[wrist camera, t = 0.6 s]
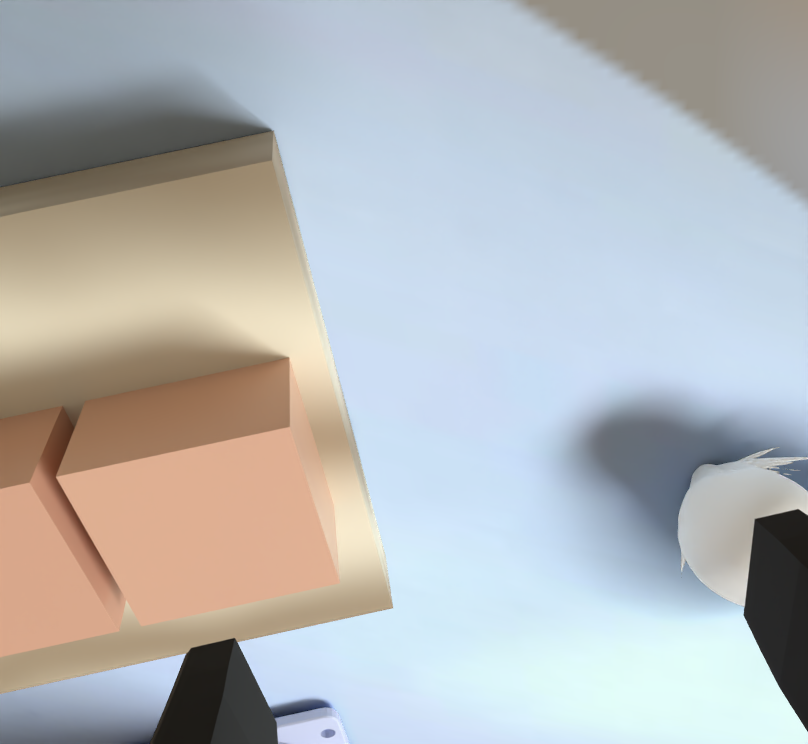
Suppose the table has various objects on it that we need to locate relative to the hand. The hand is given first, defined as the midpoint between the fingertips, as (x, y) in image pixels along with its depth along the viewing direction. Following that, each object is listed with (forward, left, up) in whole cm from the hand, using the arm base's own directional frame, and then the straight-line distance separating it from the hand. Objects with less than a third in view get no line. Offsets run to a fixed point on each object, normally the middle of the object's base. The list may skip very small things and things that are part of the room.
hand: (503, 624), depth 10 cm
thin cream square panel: (-2, +8, -9) cm, 13 cm away
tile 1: (-2, +5, -7) cm, 9 cm away
